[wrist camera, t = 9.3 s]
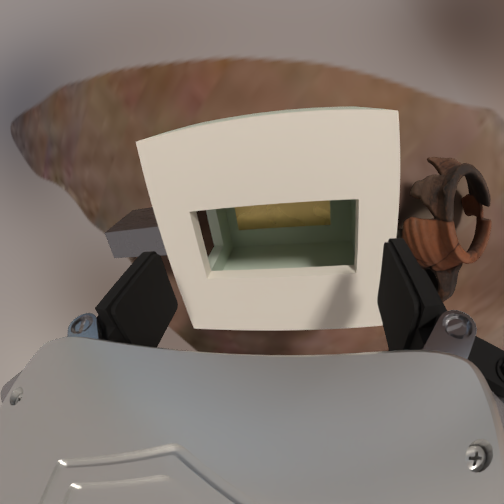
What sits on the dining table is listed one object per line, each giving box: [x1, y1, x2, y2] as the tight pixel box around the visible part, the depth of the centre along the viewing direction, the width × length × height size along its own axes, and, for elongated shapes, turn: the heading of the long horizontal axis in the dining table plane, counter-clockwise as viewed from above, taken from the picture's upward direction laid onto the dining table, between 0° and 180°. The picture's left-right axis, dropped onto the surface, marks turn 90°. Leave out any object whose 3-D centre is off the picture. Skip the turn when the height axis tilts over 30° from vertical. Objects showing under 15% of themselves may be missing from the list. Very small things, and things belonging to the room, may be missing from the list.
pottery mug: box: [396, 157, 491, 302], centre depth 19 cm, size 12×10×8 cm
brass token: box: [235, 200, 331, 230], centre depth 19 cm, size 2×6×5 cm, turn 98°
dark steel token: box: [105, 207, 167, 258], centre depth 23 cm, size 2×6×5 cm, turn 98°
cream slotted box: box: [136, 107, 400, 330], centre depth 18 cm, size 12×12×10 cm
